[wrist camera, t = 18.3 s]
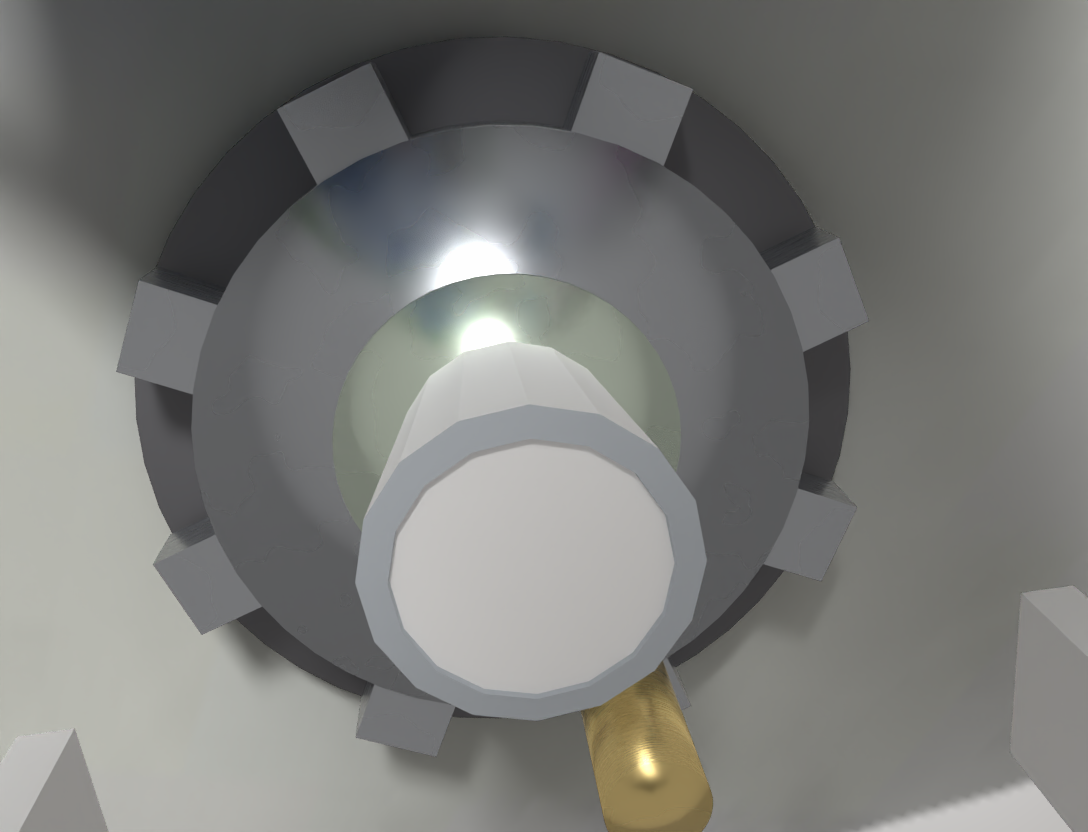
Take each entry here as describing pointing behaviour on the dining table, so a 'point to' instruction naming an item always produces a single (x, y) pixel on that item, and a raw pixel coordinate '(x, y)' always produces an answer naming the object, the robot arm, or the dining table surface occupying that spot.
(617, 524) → the shot glass
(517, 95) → the sprocket base
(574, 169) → the sprocket
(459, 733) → the dining table surface
